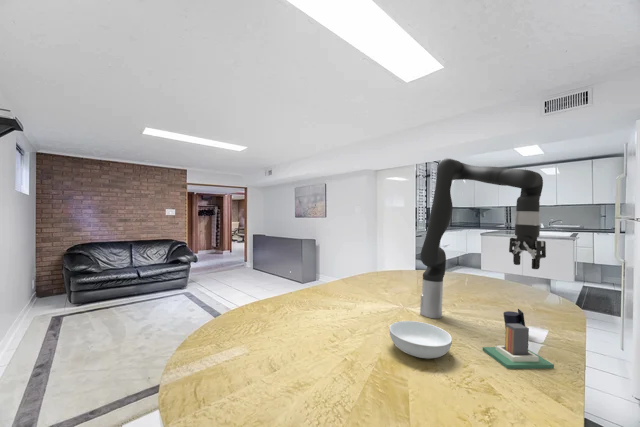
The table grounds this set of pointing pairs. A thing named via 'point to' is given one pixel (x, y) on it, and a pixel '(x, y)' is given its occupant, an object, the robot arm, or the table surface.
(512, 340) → the gray rectangular block
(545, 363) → the board
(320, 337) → the table surface
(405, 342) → the serving bowl
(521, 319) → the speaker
